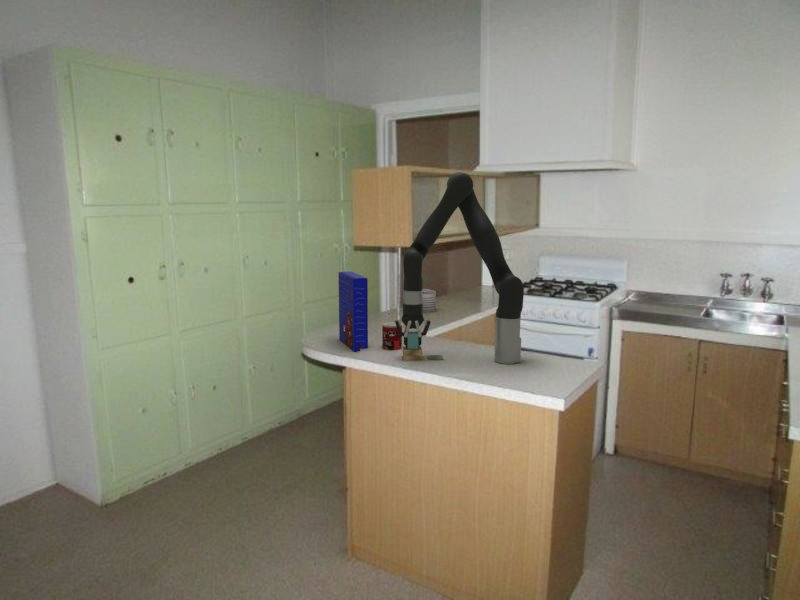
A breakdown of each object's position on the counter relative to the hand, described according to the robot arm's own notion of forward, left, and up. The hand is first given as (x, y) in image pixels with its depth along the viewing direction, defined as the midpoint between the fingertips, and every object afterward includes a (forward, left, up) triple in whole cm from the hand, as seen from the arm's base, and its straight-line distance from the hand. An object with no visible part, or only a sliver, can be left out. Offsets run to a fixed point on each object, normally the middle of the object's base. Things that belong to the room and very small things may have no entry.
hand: (412, 346), depth 226 cm
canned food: (+7, -16, -6) cm, 18 cm away
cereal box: (+23, -25, -6) cm, 35 cm away
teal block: (0, 0, -5) cm, 5 cm away
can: (-15, -97, -6) cm, 98 cm away
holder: (-4, 0, -6) cm, 7 cm away
